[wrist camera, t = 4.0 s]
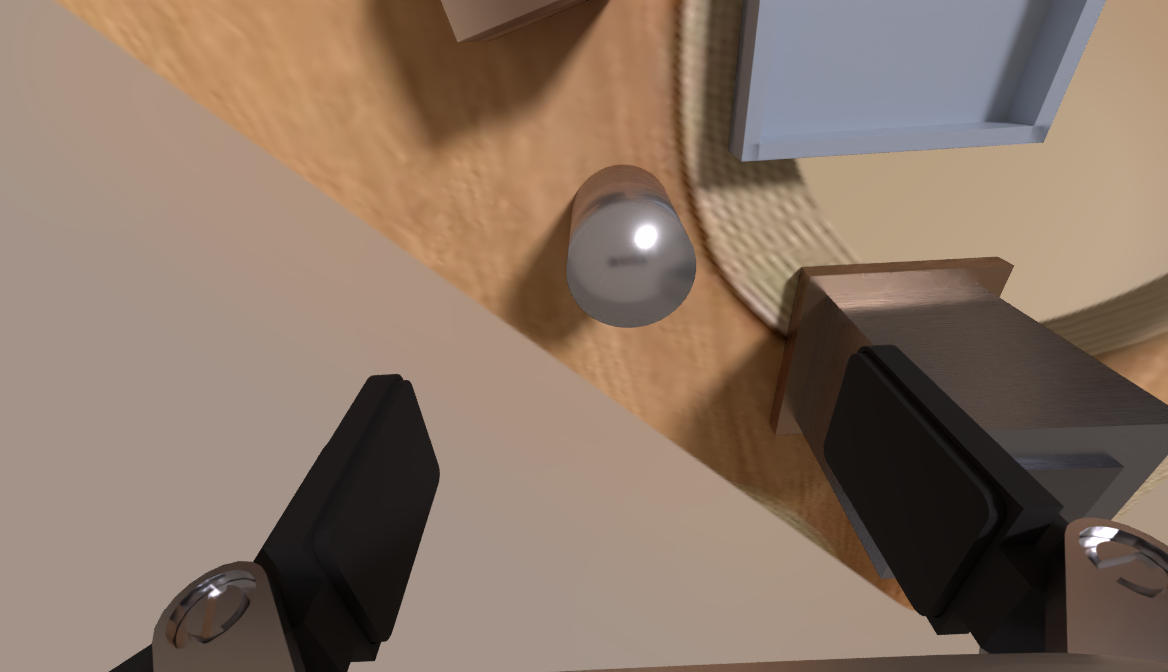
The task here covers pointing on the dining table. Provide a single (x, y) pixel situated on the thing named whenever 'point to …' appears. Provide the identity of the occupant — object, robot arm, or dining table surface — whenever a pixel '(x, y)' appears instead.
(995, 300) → the box with rectangular openings
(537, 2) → the block
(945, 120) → the tray
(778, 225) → the dining table surface
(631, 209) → the metal cylinder
